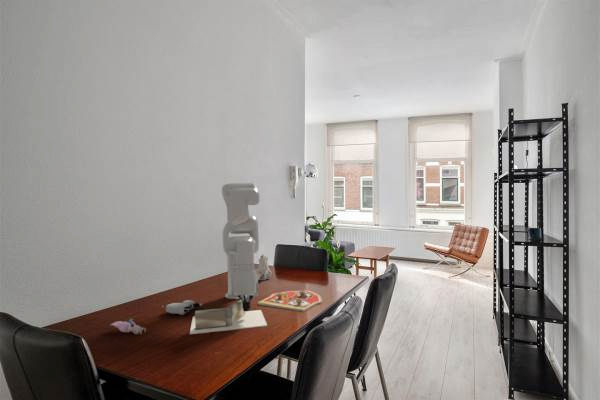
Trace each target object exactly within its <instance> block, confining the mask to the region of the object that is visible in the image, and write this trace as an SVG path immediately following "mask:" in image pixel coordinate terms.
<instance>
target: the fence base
mask: <svg viewBox="0 0 600 400" xmlns="http://www.w3.org/2000/svg"><path fill="white" fill-rule="evenodd" d="M194 316H195V327H196V329H197V328H206V327H216V326H225V325H226V326H227V327H230V326H232V307H230V306H227V307H223V308H211V309H203V310H202V309H201V310H195V312H194Z"/></svg>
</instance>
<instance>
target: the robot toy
mask: <svg viewBox="0 0 600 400" xmlns="http://www.w3.org/2000/svg"><path fill="white" fill-rule="evenodd" d="M202 306H203V303H199V302H195V301H193V300H191V299H190V300H189V299H186V300H183V301H181V302H172V303H169V304H166V306H164V305H162V306H161V307H162V308H165V311H166V313H169V314H171V315H175V314H176V315H177V314H178V315H179V316H184V315H185V314H187V313H189V312H190V311H191V310H193V309H194V308H199V307H202Z"/></svg>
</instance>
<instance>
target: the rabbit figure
mask: <svg viewBox="0 0 600 400" xmlns="http://www.w3.org/2000/svg"><path fill="white" fill-rule="evenodd" d="M132 325H133V326H132ZM109 326H113V327H115V328H117V329H118V330H119V331H120V332H121V333H125V334H126V333H130V332H131V333H133V334H134V335H139V334H140V335H142V334H143V333H142V332H143V331H144V333H146V332H147V329H146V327H142V326H140V325H138V324H136V323H135V322H134V321H133V318H130V319H128V321H121V320H119V321H115V322H113V323H110V325H109Z"/></svg>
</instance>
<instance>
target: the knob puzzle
mask: <svg viewBox="0 0 600 400" xmlns="http://www.w3.org/2000/svg"><path fill="white" fill-rule="evenodd" d="M322 303H323V299H322V297H321V295H320V294H318V293H316V292H314V291H311V290H309V289H308V290H288V291H281V292H276V293H275V292H274V293H270V295H269V296H268V297H266V298H264V299H262V300H259V301H258V302H257V305H258V306H264V307H271V308H275V309H276V308H278V309H283V310H290V311H297V312H303V313H304V312H306V311H308V310H310V309H312V308H314V307H315V306H317V305H322Z"/></svg>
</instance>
